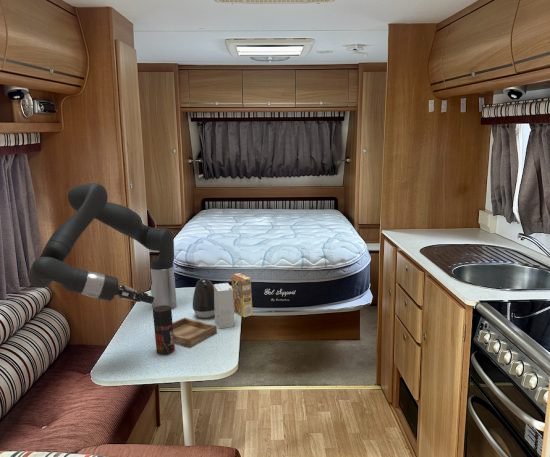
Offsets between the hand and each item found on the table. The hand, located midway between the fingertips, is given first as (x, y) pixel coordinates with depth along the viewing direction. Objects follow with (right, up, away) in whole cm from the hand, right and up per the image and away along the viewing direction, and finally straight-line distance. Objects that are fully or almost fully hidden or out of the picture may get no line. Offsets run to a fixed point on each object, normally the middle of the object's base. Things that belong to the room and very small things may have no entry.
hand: (150, 298), depth 163 cm
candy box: (+27, -11, +38) cm, 48 cm away
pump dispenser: (+13, -12, +37) cm, 41 cm away
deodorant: (+4, -19, +6) cm, 20 cm away
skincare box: (+21, -14, +28) cm, 37 cm away
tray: (+9, -16, +18) cm, 26 cm away
